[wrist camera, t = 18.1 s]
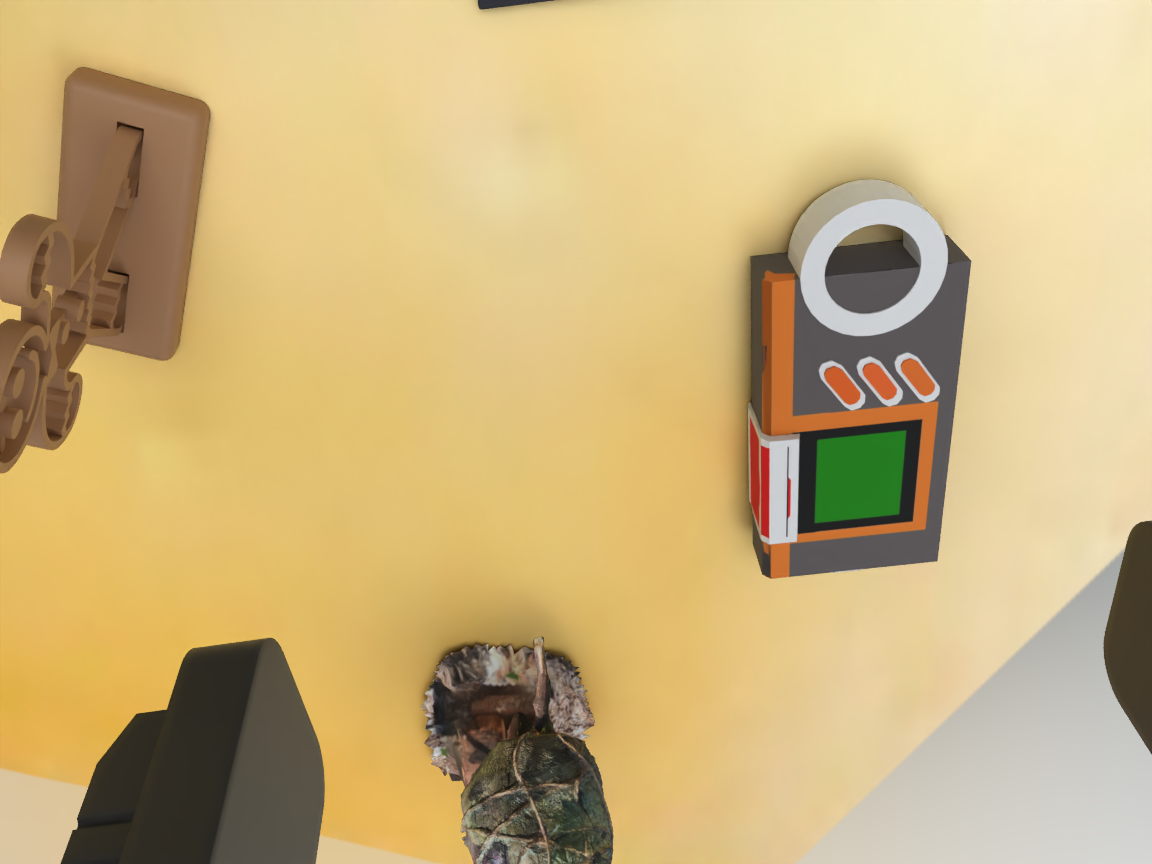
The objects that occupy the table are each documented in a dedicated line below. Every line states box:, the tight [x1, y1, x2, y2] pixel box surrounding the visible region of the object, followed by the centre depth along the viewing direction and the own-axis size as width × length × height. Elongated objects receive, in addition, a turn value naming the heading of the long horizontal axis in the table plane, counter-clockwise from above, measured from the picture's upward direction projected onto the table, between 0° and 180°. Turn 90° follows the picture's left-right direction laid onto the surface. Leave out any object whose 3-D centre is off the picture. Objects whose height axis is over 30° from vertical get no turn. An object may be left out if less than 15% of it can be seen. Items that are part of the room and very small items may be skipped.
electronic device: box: [748, 179, 971, 579], centre depth 37 cm, size 7×3×15 cm
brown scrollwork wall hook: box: [0, 67, 210, 473], centre depth 28 cm, size 9×4×12 cm, turn 162°
